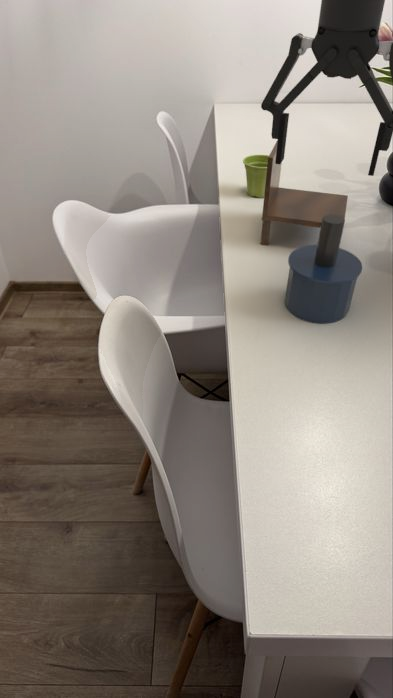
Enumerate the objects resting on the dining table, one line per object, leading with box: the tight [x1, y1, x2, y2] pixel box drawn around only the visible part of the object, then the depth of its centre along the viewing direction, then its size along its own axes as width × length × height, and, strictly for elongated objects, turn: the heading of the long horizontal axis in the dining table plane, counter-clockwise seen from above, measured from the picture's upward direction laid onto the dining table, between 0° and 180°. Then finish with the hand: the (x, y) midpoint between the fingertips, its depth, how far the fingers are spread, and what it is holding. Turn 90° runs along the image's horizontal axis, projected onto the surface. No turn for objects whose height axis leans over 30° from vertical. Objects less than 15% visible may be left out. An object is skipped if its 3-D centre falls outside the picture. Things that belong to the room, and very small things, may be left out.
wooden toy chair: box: [260, 139, 349, 246], centre depth 105 cm, size 17×16×19 cm
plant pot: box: [242, 154, 270, 199], centre depth 126 cm, size 9×9×9 cm
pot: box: [284, 267, 358, 324], centre depth 87 cm, size 12×12×8 cm
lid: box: [287, 214, 363, 284], centre depth 82 cm, size 13×13×9 cm
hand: (324, 166), depth 72 cm, fingers open, 13 cm apart
